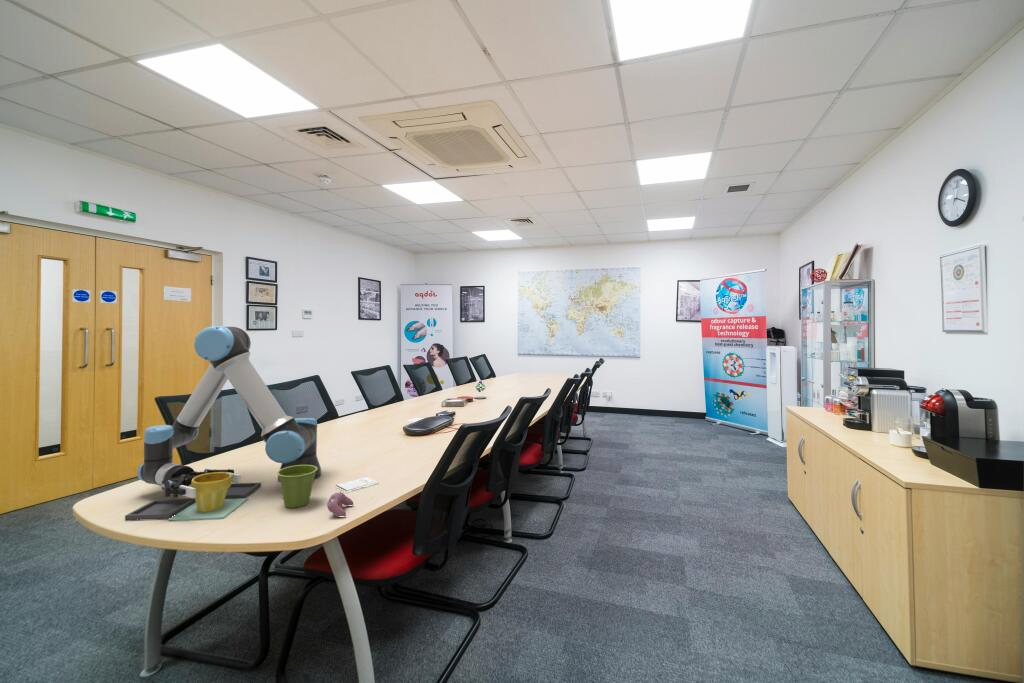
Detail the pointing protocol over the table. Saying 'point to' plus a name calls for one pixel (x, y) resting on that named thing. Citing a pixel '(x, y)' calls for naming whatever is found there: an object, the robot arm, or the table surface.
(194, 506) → the pad
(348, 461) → the table surface
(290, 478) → the plant pot
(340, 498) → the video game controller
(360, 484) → the white flat block
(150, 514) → the tray
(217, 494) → the plant pot
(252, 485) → the tray
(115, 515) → the table surface
